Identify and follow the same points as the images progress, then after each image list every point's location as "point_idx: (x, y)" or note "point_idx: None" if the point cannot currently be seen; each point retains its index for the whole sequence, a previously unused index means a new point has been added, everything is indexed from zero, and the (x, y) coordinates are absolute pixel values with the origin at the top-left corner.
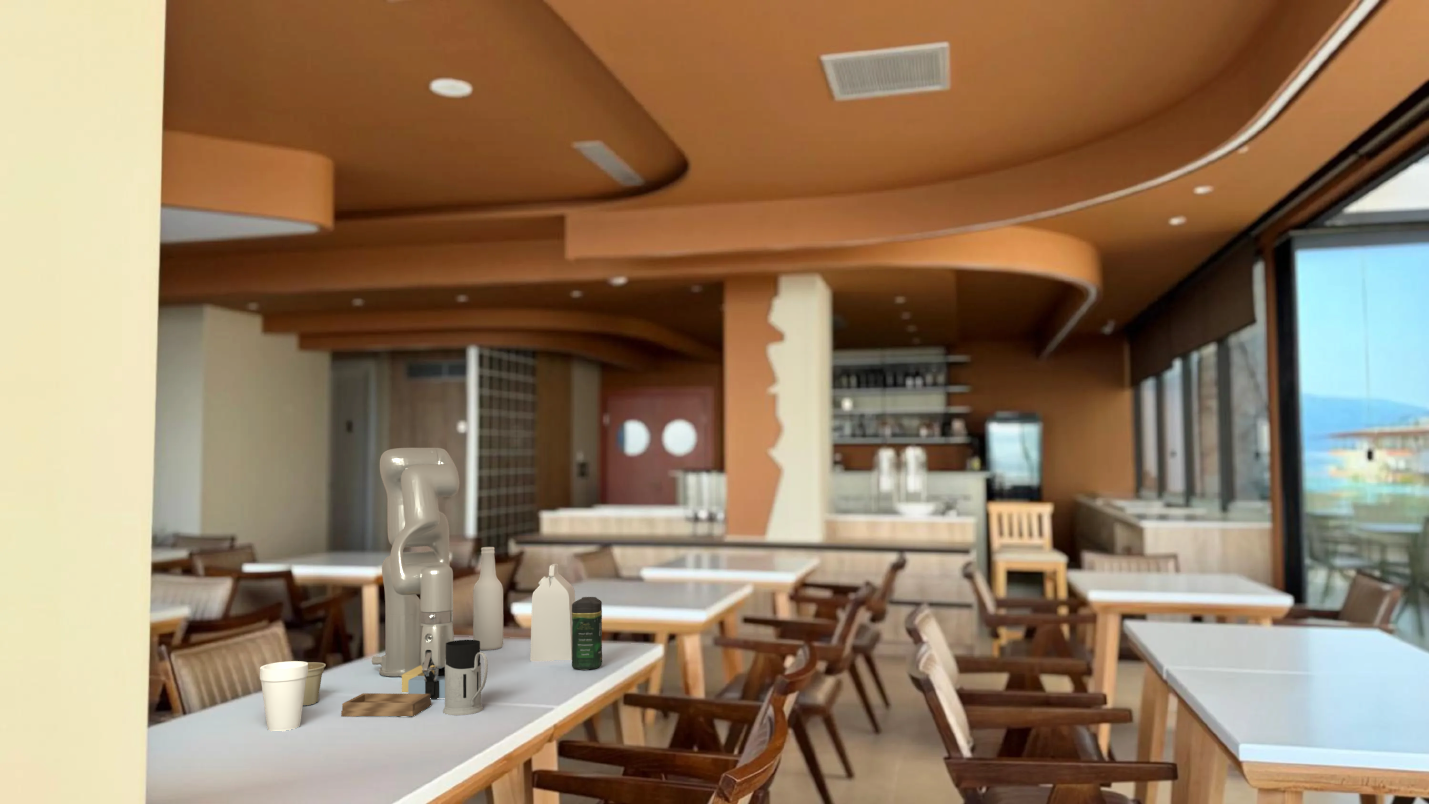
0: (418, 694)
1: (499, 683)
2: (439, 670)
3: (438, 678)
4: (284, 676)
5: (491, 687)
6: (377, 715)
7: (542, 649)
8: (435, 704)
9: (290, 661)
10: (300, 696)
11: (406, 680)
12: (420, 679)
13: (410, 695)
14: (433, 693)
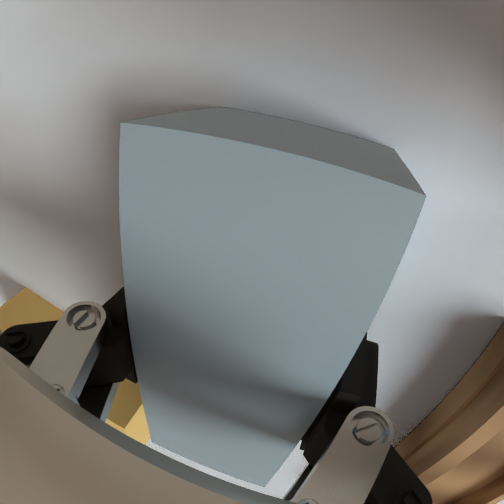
0: (497, 424)
1: (18, 17)
2: (93, 382)
3: (234, 386)
4: None
5: (68, 8)
6: None
7: None
8: (491, 297)
9: None
10: None
11: (145, 431)
12: (253, 459)
13: (478, 445)
14: (376, 348)
